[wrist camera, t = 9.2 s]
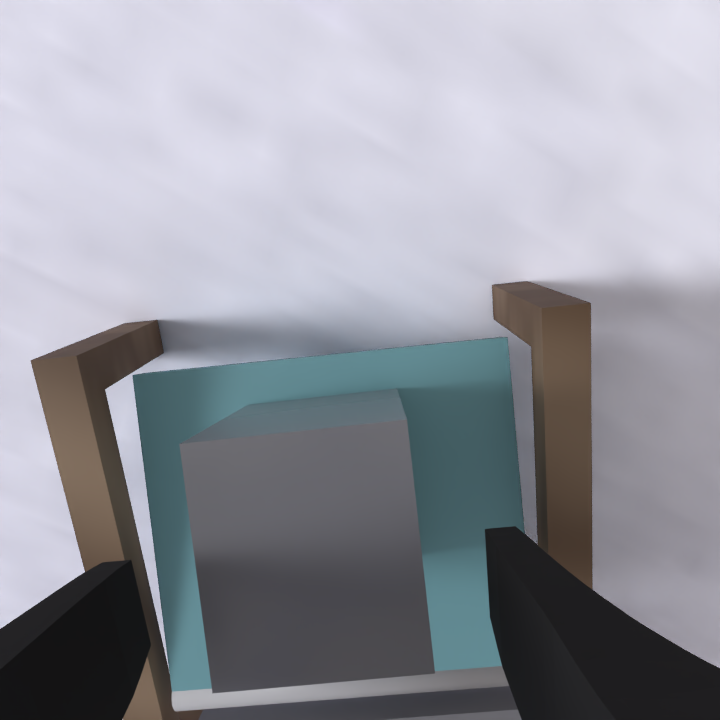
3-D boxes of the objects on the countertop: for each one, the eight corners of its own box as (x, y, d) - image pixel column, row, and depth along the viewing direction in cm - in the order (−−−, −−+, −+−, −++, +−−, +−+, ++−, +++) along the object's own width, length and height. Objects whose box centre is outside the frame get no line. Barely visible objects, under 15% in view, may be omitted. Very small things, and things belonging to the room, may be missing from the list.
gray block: (415, 555, 16) (435, 673, 11) (268, 570, 16) (212, 693, 11) (396, 388, 16) (407, 419, 10) (247, 404, 16) (179, 443, 10)
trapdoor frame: (539, 651, 22) (593, 785, 17) (199, 678, 23) (148, 816, 17) (527, 281, 19) (590, 303, 13) (124, 323, 19) (30, 360, 14)
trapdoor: (517, 736, 20) (551, 836, 16) (227, 757, 21) (191, 859, 17) (481, 335, 19) (507, 337, 15) (180, 366, 20) (130, 375, 16)
